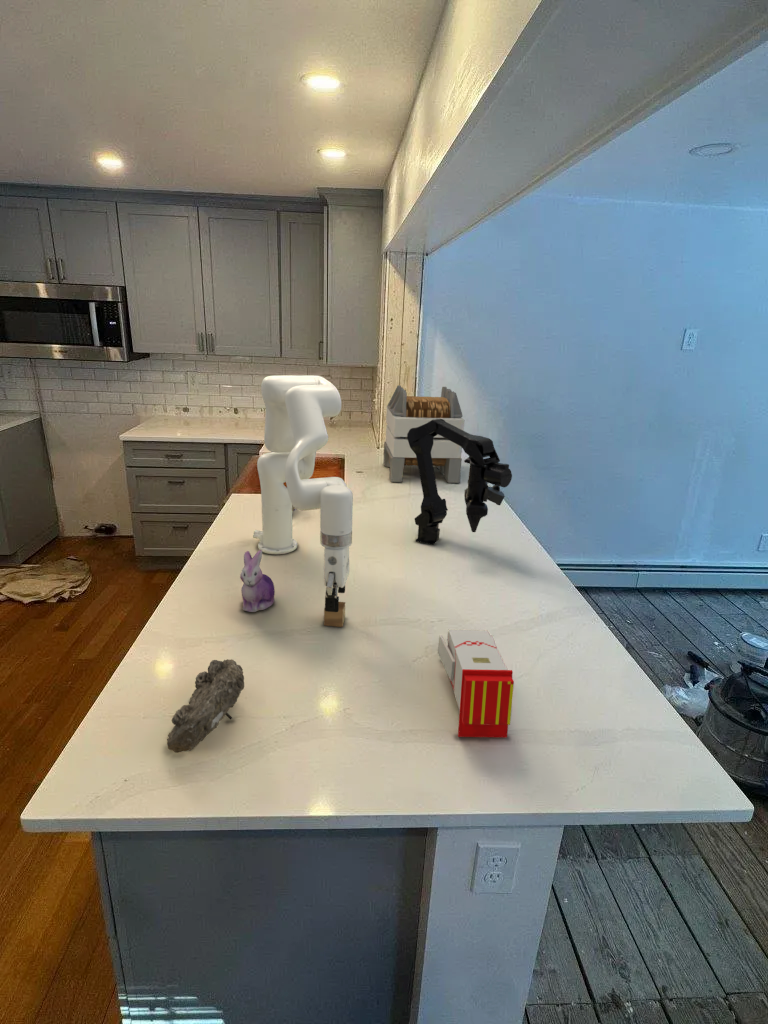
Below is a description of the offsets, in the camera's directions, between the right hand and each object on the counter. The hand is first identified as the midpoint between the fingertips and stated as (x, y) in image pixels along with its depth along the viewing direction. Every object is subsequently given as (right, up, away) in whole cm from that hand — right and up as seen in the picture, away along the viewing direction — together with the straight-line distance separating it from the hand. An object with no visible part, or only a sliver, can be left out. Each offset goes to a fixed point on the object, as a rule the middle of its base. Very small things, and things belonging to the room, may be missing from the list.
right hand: (472, 526), depth 179 cm
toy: (-10, -33, -60) cm, 70 cm away
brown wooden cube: (-41, -23, -37) cm, 59 cm away
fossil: (-61, -35, -71) cm, 100 cm away
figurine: (-61, -20, -30) cm, 71 cm away
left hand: (-40, -18, -39) cm, 58 cm away
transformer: (-11, +23, +96) cm, 99 cm away
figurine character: (-65, +5, +38) cm, 75 cm away
